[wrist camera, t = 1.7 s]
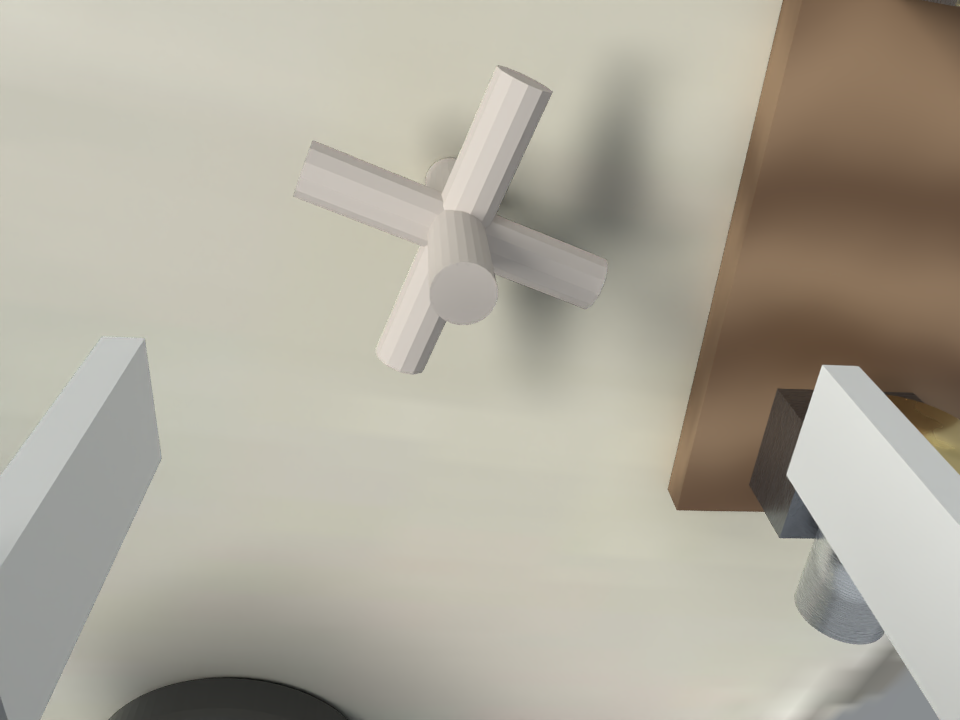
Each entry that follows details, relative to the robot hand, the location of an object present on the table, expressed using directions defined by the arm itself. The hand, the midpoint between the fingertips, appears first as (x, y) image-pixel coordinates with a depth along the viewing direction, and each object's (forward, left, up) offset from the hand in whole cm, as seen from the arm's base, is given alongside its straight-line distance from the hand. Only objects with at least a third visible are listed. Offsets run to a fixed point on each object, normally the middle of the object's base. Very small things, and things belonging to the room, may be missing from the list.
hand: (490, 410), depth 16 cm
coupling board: (0, -17, -16) cm, 23 cm away
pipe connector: (0, 0, -16) cm, 16 cm away
